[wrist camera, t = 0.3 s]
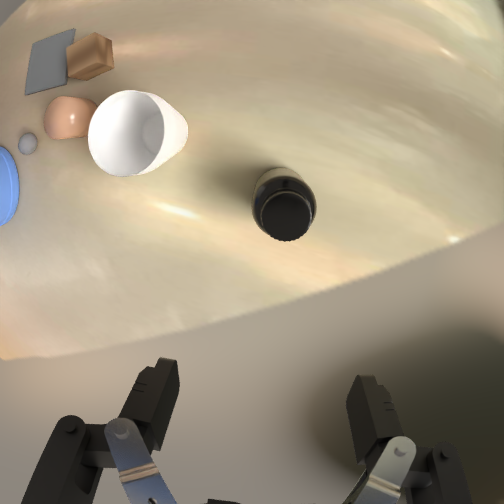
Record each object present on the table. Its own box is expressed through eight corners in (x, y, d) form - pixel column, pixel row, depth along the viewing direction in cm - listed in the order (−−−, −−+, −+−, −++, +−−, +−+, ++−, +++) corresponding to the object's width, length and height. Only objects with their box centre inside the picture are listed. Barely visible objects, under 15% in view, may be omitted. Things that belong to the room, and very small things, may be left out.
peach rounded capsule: (69, 101, 34) (45, 99, 28) (99, 96, 34) (76, 93, 28) (67, 138, 36) (43, 141, 30) (97, 135, 36) (73, 137, 30)
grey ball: (28, 133, 35) (14, 135, 32) (41, 131, 35) (27, 132, 32) (28, 153, 37) (14, 156, 33) (41, 152, 37) (27, 154, 33)
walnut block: (84, 53, 31) (66, 47, 26) (111, 40, 30) (94, 32, 26) (87, 80, 33) (68, 76, 28) (114, 68, 32) (96, 61, 27)
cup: (126, 120, 35) (76, 118, 24) (182, 89, 33) (146, 71, 22) (149, 176, 38) (106, 193, 27) (208, 148, 36) (181, 153, 25)
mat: (34, 44, 29) (32, 43, 29) (75, 29, 29) (73, 28, 28) (26, 95, 33) (24, 95, 32) (66, 84, 33) (64, 84, 32)
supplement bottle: (248, 209, 39) (239, 239, 28) (263, 160, 36) (260, 169, 25) (297, 225, 39) (307, 260, 28) (314, 177, 37) (333, 193, 26)
